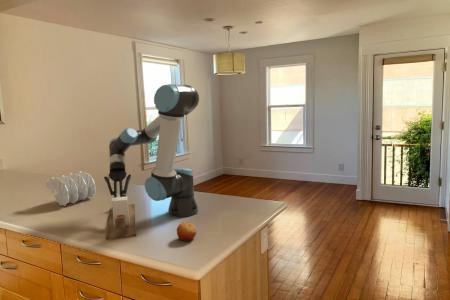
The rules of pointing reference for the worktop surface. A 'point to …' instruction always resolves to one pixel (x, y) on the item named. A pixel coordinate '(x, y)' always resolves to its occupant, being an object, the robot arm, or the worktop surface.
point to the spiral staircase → (72, 187)
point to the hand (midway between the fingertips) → (118, 206)
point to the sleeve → (120, 208)
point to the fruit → (186, 231)
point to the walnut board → (122, 225)
